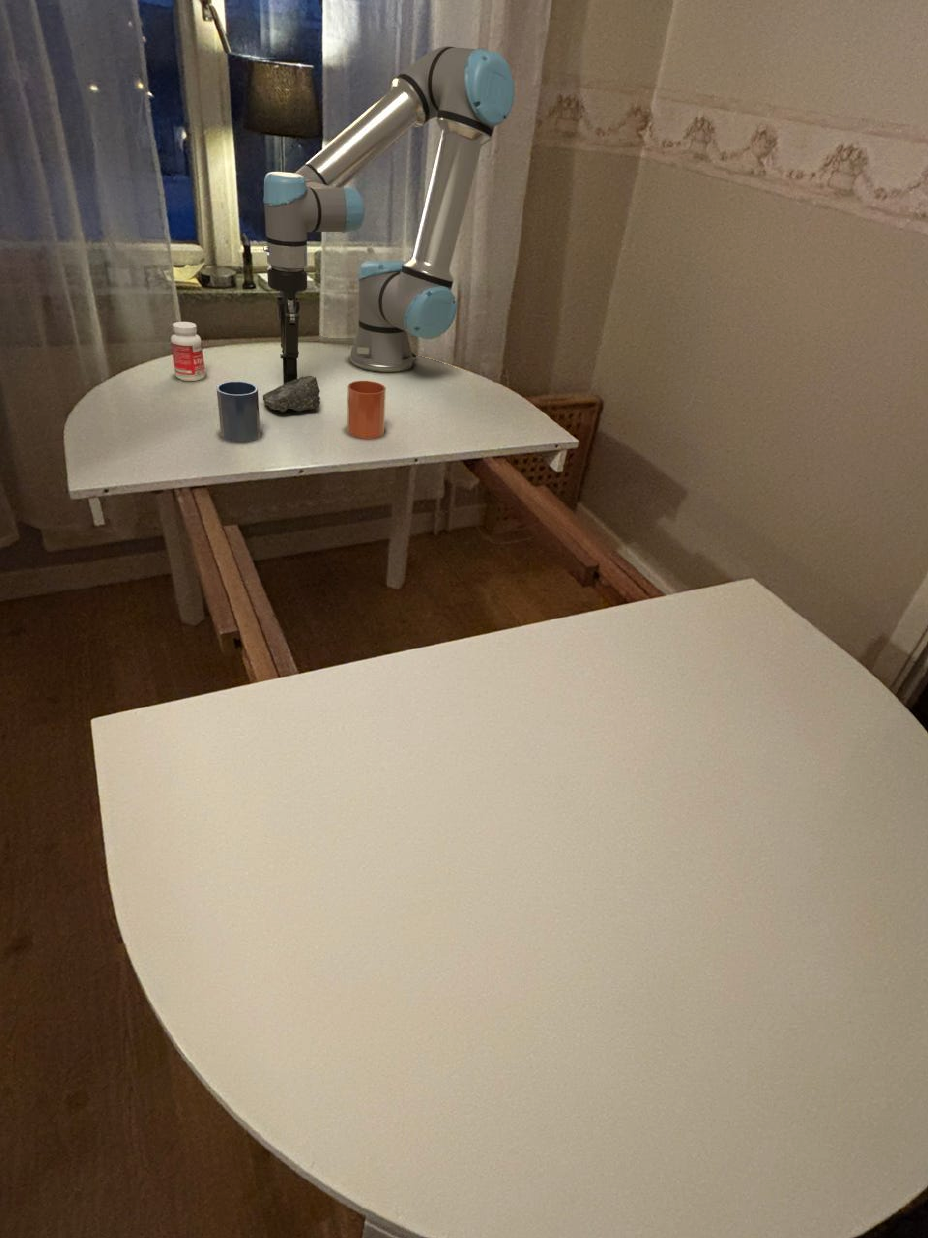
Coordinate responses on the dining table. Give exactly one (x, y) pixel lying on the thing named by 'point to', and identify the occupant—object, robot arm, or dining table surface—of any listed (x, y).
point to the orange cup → (365, 409)
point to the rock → (294, 395)
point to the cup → (238, 411)
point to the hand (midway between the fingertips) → (290, 387)
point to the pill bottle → (187, 352)
